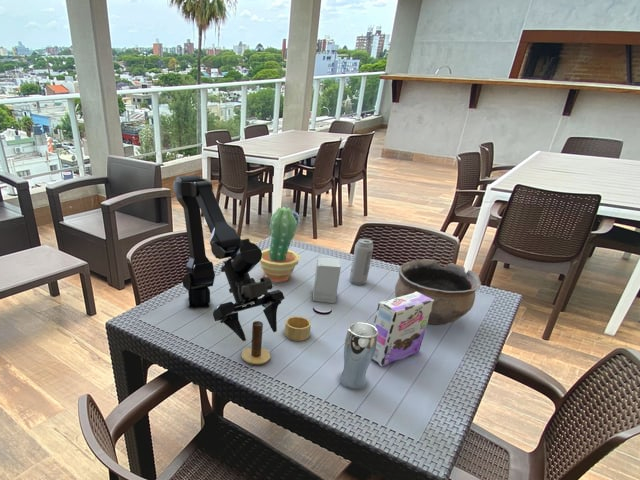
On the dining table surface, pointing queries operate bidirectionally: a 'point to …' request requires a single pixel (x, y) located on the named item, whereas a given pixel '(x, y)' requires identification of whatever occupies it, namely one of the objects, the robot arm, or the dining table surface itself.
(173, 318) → the dining table surface
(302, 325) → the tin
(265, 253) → the potted cactus
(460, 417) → the dining table surface
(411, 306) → the candy box
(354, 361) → the beer glass
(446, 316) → the ceramic bowl
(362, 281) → the energy drink can
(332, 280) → the white packaging box
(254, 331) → the peg on round base
